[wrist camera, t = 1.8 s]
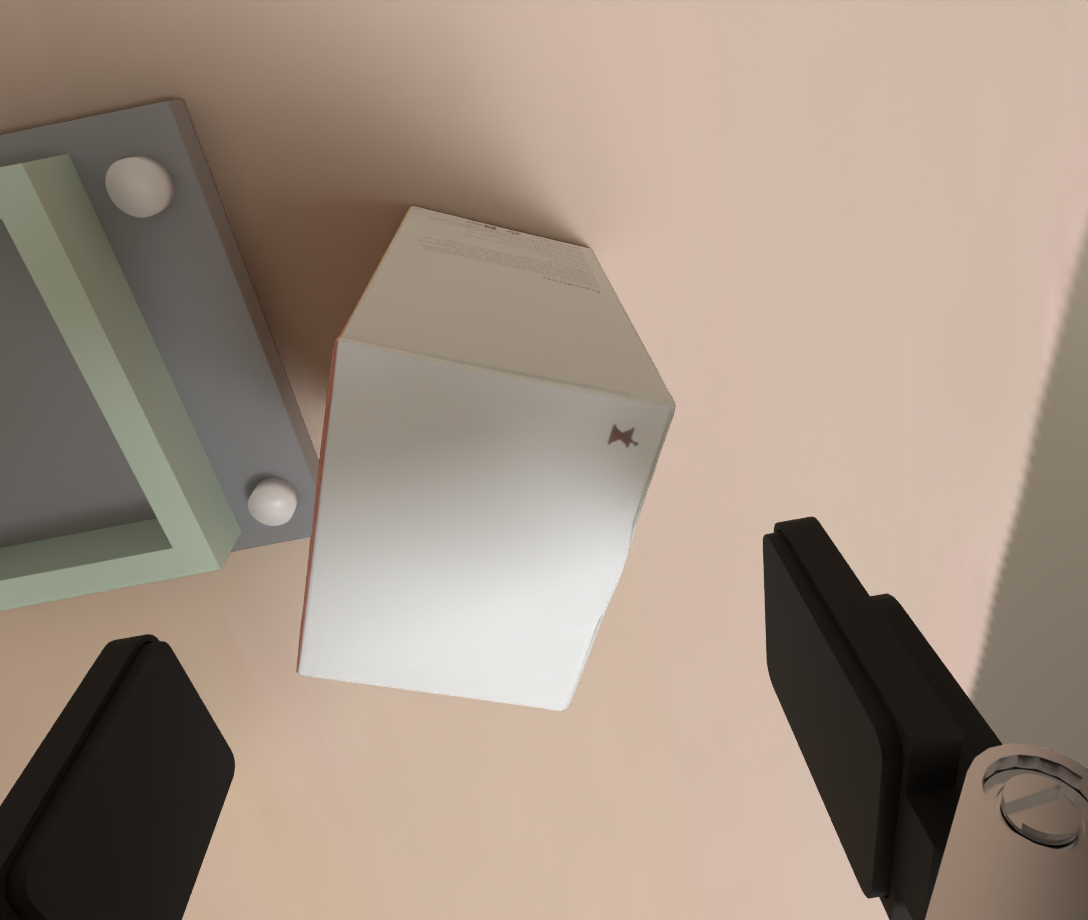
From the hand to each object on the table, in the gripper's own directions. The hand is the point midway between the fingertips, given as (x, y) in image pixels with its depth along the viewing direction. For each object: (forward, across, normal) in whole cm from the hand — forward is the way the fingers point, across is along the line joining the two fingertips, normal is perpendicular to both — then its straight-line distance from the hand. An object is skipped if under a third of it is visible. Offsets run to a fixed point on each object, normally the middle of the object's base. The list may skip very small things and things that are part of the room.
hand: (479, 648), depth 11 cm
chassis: (+16, +16, -1) cm, 23 cm away
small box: (+16, 0, +1) cm, 16 cm away
